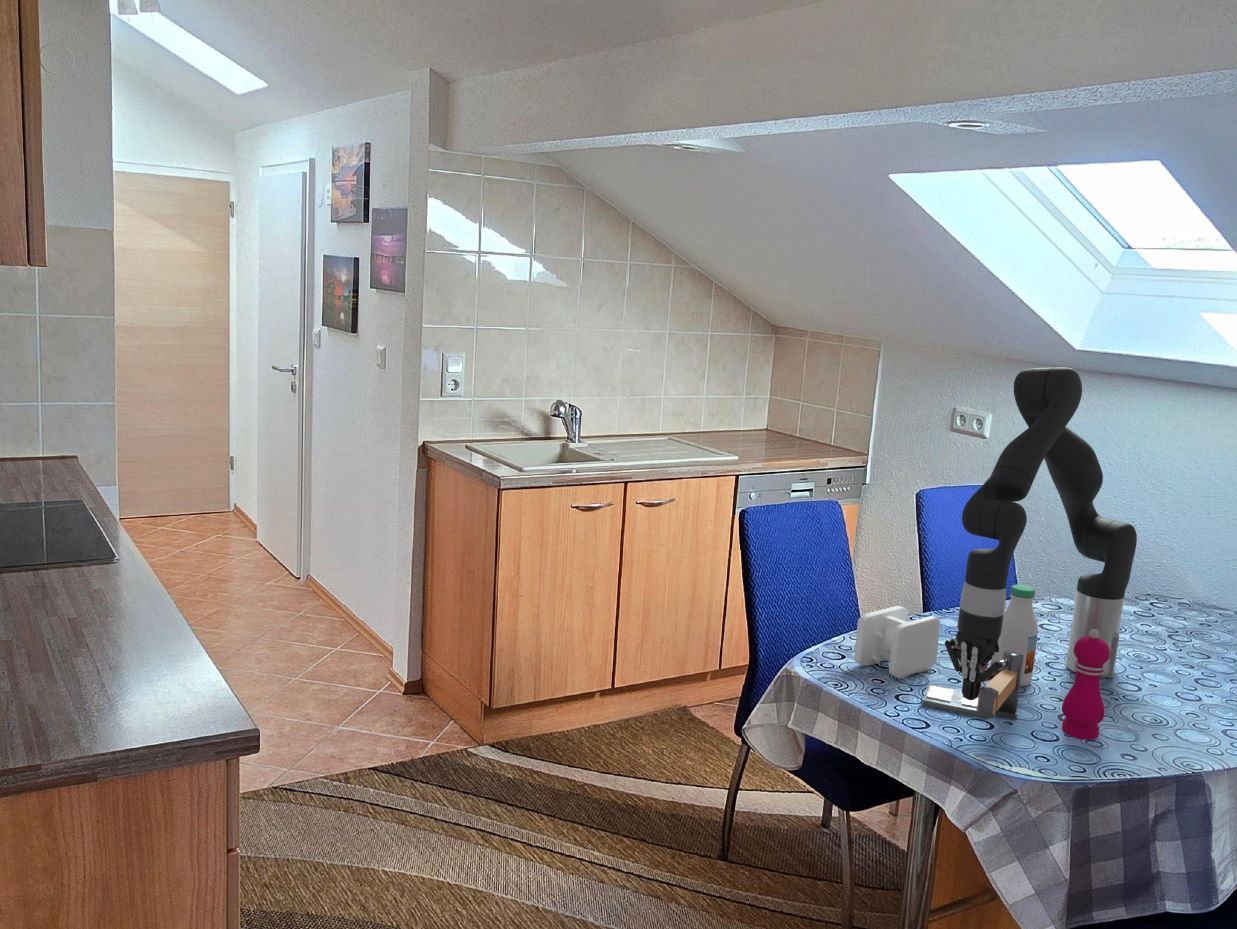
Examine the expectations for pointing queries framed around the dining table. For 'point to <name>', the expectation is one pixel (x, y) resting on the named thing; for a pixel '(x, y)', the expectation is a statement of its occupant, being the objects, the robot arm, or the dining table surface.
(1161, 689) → the dining table surface
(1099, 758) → the dining table surface
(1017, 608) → the milk bottle
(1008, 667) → the post
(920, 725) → the dining table surface
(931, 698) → the label plate
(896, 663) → the cable organizer
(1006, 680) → the swing bar
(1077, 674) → the pepper mill
